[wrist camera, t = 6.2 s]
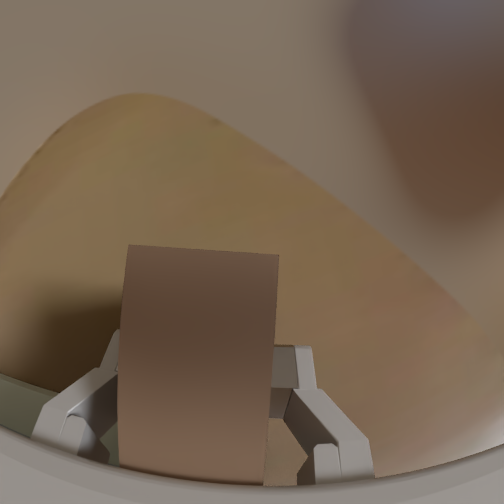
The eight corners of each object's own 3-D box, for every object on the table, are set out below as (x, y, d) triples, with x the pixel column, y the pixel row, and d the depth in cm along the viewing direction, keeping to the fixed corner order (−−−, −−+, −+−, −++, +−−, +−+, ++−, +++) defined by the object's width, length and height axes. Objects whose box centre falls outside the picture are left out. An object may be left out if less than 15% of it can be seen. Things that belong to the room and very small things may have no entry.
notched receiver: (199, 551, 13) (180, 649, 4) (-5, 484, 13) (-76, 521, 4) (201, 420, 15) (162, 513, 6) (-22, 364, 15) (-119, 370, 6)
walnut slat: (248, 412, 15) (258, 526, 5) (188, 406, 15) (123, 509, 5) (256, 294, 16) (279, 255, 6) (196, 290, 16) (129, 244, 6)
